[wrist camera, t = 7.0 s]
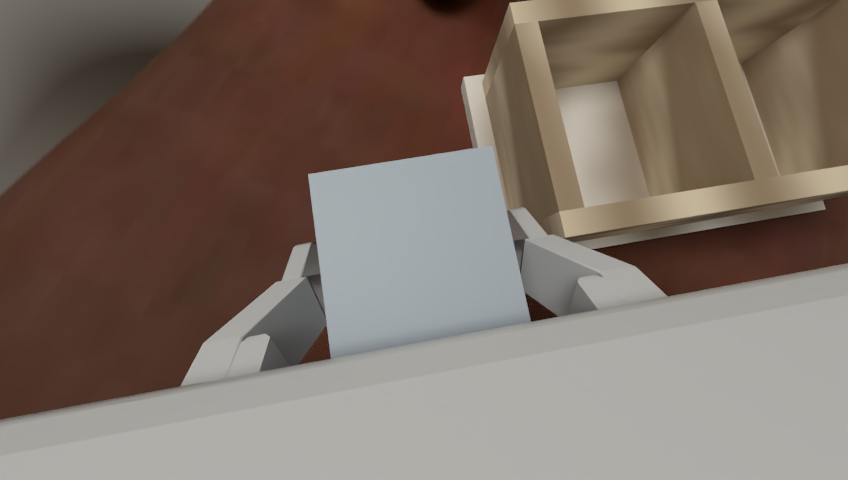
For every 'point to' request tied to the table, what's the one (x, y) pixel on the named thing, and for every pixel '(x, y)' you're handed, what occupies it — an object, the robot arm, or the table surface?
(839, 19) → the wooden divided tray
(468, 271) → the grey peg
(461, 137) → the table surface
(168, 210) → the table surface
